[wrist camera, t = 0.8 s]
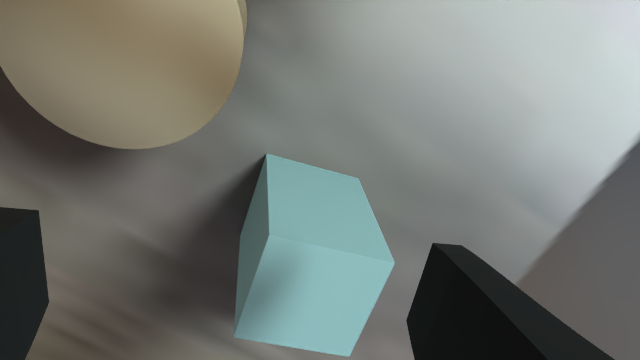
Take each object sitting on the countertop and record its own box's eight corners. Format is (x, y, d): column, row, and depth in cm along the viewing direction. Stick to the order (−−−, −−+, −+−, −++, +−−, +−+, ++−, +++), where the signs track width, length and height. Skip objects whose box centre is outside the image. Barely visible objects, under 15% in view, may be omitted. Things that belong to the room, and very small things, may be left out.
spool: (223, 116, 18) (211, 172, 13) (53, 68, 16) (-24, 113, 12) (268, -49, 16) (271, -48, 11) (75, -122, 14) (-10, -154, 10)
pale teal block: (326, 254, 21) (349, 357, 16) (240, 235, 20) (233, 337, 15) (358, 178, 20) (394, 263, 14) (266, 153, 19) (269, 234, 13)
